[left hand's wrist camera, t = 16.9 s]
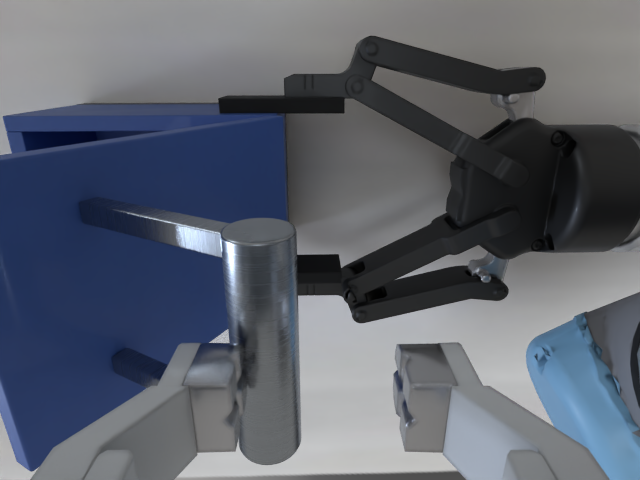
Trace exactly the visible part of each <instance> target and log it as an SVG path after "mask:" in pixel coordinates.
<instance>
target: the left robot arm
mask: <svg viewBox="0 0 640 480" xmlns="http://www.w3.org/2000/svg"><path fill="white" fill-rule="evenodd" d="M395 361H396V365H397V369H398V370H397V371H396V372H395V373H394V378H393V397H394V405H395V410H396V414H397V415H398V416H399V417H400V432H401V437H402V441H403V445H404V450H405V451H406V452H441V453H443V455H444V456H445V457H446V458H447V459H448V460H449V461H450V463H451V464H452V465H453V466H454V467H455V468H456V469H457V470H458V471H459V472H460V473H461V474H462V475H463V476H464V477H465V478H466V480H610V479H609V478H608V476H607V475H606V473H605V472H604V470H603V469H602V468H601V466H600V465H599V463H598V462H597V461H596V459H595V458H594V456H593V455H592V454H591V452H590V451H589V449H588V448H586V447H585V446H583V445H582V444H580V443H579V442H577V441H575V440H574V439H572V438H571V437H569V436H568V435H566V434H564V433H563V432H561V431H560V430H558V429H556V428H555V427H553V426H552V425H550V424H549V423H547V422H545V421H544V420H542V419H541V418H539V417H538V416H536V415H534V414H533V413H531V412H530V411H528V410H526V409H525V408H523V407H522V406H520V405H519V404H517V403H515V402H514V401H512V400H511V399H509V398H508V397H506V396H504V395H503V394H501V393H500V392H498V391H496V390H495V389H493V388H492V387H490V386H483V385H482V383H481V381H480V379H479V377H478V375H477V373H476V371H475V370H474V368H473V366H472V364H471V362H470V360H469V358H468V356H467V354H466V353H465V351H464V349H463V347H462V345H461V344H460V343H438V344H397V346H396V351H395ZM244 362H245V350H244V346H243V344H232V343H181V344H179V345H178V347H177V349H176V351H175V353H174V354H173V356H172V358H171V360H170V362H169V364H168V366H167V368H166V370H165V372H164V374H163V376H162V377H161V379H160V381H159V383H158V385H157V386H150V387H148V388H147V389H145V390H144V391H142V392H141V393H139V394H137V395H136V396H134V397H133V398H131V399H129V400H128V401H126V402H125V403H123V404H122V405H120V406H118V407H117V408H115V409H114V410H112V411H111V412H109V413H107V414H106V415H104V416H103V417H101V418H99V419H98V420H96V421H95V422H93V423H92V424H90V425H88V426H87V427H85V428H84V429H82V430H80V431H79V432H77V433H76V434H74V435H73V436H71V437H69V438H68V439H66V440H65V441H63V442H61V443H60V444H58V445H57V446H55V447H54V448H53V449H52V450H51V451H50V453H49V454H48V456H47V457H46V458H45V460H44V461H43V463H42V464H41V465H40V467H39V468H38V470H37V471H36V472H35V474H34V475H33V477H32V478H31V479H30V480H174V479H175V478H176V477H177V476H178V475H179V474H180V473H181V472H182V471H183V469H184V468H185V467H186V466H187V465H188V464H189V463H190V462H191V461H192V460H193V459H194V458H195V457H196V456H197V453H199V452H233V451H236V446H237V442H238V438H239V433H240V429H241V427H240V417H241V416H242V415H243V414H244V411H245V406H246V397H247V375H246V373H245V372H244V371H243V366H244Z"/></svg>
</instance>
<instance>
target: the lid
mask: <svg viewBox="0 0 640 480" xmlns="http://www.w3.org/2000/svg"><path fill="white" fill-rule="evenodd" d="M227 329H228V330H229V341H230V343H232V344H243V346H244V350H245V362H244V366H243V371H244V372H245V373H246V375H247V397H246V406H245V411H244V414H243V415H242V416H241V417H240V427H241V429H240V433H239V438H238V439H239V447H240V450H241V452H242V453H243V455H244V456H245V457H246V458H247V459H249V460H250V461H252V462H254V463H257V464H261V465H273V464H277V463H281V462H283V461H285V460H287V459H288V458H290V457H291V456H292V455H293V454H294V453H295V452H296V450H297V449H298V447H299V445H300V442H301V407H300V365H299V323H298V281H297V238H296V229H295V227H294V225H293V224H291V223H289V222H287V221H286V192H285V160H284V129H283V117H282V116H272V115H269V116H263V117H256V118H249V119H242V120H236V121H229V122H222V123H215V124H208V125H202V126H195V127H188V128H181V129H175V130H168V131H161V132H154V133H147V134H141V135H134V136H127V137H120V138H114V139H107V140H100V141H93V142H86V143H80V144H73V145H66V146H59V147H53V148H46V149H39V150H32V151H25V152H19V153H12V154H5V155H0V413H1V416H2V419H3V422H4V425H5V428H6V431H7V434H8V436H9V439H10V442H11V445H12V448H13V451H14V454H15V457H16V460H17V462H18V463H20V464H21V465H22V466H24V467H25V468H27V469H28V470H29V471H34V470H35V469H37V468H38V467H40V465H41V464H42V463H43V461H44V460H45V458H46V457H47V456H48V454H49V453H50V451H51V450H52V449H53V448H54V447H55V446H57V445H58V444H60V443H61V442H63V441H65V440H66V439H68V438H69V437H71V436H73V435H74V434H76V433H77V432H79V431H80V430H82V429H84V428H85V427H87V426H88V425H90V424H92V423H93V422H95V421H96V420H98V419H99V418H101V417H103V416H104V415H106V414H107V413H109V412H111V411H112V410H114V409H115V408H117V407H118V406H120V405H122V404H123V403H125V402H126V401H128V400H129V399H131V398H133V397H134V396H136V395H137V394H139V393H141V392H142V391H143V390H145V389H146V388H148V387H150V386H157V385H158V383H159V381H160V379H161V377H162V376H163V374H164V372H165V370H166V368H167V366H168V364H169V362H170V360H171V358H172V356H173V354H174V353H175V351H176V349H177V347H178V345H179V344H181V343H209V342H210V341H212V340H213V339H215V338H216V337H217V336H219V335H220V334H221V333H223V332H224V331H225V330H227Z"/></svg>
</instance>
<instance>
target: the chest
mask: <svg viewBox="0 0 640 480" xmlns="http://www.w3.org/2000/svg"><path fill="white" fill-rule="evenodd" d="M269 115H272V116H282V117H283V129H284V160H285V192H286V221H287V222H289V207H288V174H287V141H286V113H219V103H84V104H78V105H73V106H66V107H60V108H53V109H47V110H40V111H33V112H27V113H20V114H14V115H7V116H3V120H4V124H5V128H6V131H7V136H8V140H9V144H10V148H11V151H12V153H19V152H25V151H32V150H39V149H46V148H53V147H59V146H66V145H73V144H80V143H86V142H93V141H100V140H107V139H114V138H120V137H127V136H134V135H141V134H147V133H154V132H161V131H168V130H175V129H181V128H188V127H195V126H202V125H208V124H215V123H222V122H229V121H236V120H242V119H249V118H256V117H263V116H269Z"/></svg>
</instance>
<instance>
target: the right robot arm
mask: <svg viewBox="0 0 640 480" xmlns="http://www.w3.org/2000/svg"><path fill="white" fill-rule="evenodd" d="M376 66H379V67H382V68H386V69H390V70H394V71H397V72H401V73H405V74H409V75H412V76H416V77H420V78H424V79H427V80H431V81H435V82H439V83H442V84H446V85H450V86H454V87H457V88H461V89H465V90H469V91H474V92H480V93H487V94H491V102H492V104H493V105H494V106H496V107H500V108H504V109H505V110H506V111H507V113H508V116H509V118H508V119H506V120H505V121H503V122H502V123H500V124H499V125H498V126H496V127H495V128H493V129H492V130H490V131H489V132H487V133H486V134H484V135H483V136H482V137H480V138H479V139H475V138H473V137H471V136H469V135H468V134H466V133H464V132H462V131H460V130H458V129H456V128H455V127H453V126H451V125H449V124H447V123H446V122H444V121H442V120H440V119H439V118H437V117H435V116H433V115H432V114H430V113H428V112H426V111H424V110H423V109H421V108H419V107H417V106H416V105H414V104H412V103H410V102H409V101H407V100H405V99H403V98H401V97H400V96H398V95H396V94H394V93H393V92H391V91H389V90H387V89H386V88H384V87H382V86H380V85H378V84H377V83H375V82H373V81H371V79H372V76H373V74H374V71H375V68H376ZM545 80H546V75H545V72H544V71H543V70H542V69H541V68H537V67H518V68H506V69H498V70H497V69H493V68H489V67H486V66H482V65H479V64H475V63H471V62H468V61H464V60H460V59H457V58H453V57H449V56H446V55H442V54H438V53H435V52H431V51H427V50H424V49H420V48H417V47H413V46H409V45H406V44H402V43H398V42H395V41H391V40H387V39H384V38H380V37H376V36H369V37H366V38H364V39H362V40H361V41H360V42H359V43H357V45H356V47H355V52H354V55H353V58H352V60H351V63H350V65H349V67H348V69H347V70H346V71H344V72H343V73H340V74H293V75H291V76H289V77H286V78H284V92H285V96H225V97H222V98H219V99H218V100H219V113H344V101H345V98H353V99H355V100H357V101H359V102H361V103H362V104H364V105H366V106H368V107H370V108H371V109H373V110H375V111H377V112H379V113H381V114H382V115H384V116H386V117H388V118H390V119H391V120H393V121H395V122H397V123H399V124H401V125H402V126H404V127H406V128H408V129H410V130H411V131H413V132H415V133H417V134H419V135H420V136H422V137H424V138H426V139H428V140H430V141H431V142H433V143H435V144H437V145H439V146H440V147H442V148H444V149H446V150H448V151H449V152H451V153H453V154H455V155H457V157H456V159H455V161H454V162H451V166H450V179H451V185H452V187H451V190H450V192H449V195H448V198H447V204H446V211H447V212H448V213H445V214H443V215H441V216H439V217H437V218H435V219H434V220H433V221H432V222H431V224H430V225H428V226H426V227H424V228H422V229H420V230H418V231H416V232H414V233H411V234H409V235H407V236H405V237H403V238H401V239H399V240H397V241H395V242H393V243H391V244H389V245H387V246H385V247H383V248H381V249H379V250H376V251H374V252H372V253H370V254H368V255H366V256H364V257H362V258H360V259H358V260H356V261H354V262H352V263H350V264H348V265H346V266H344V267H343V268H341V265H340V259H339V254H329V255H297V281H298V295H340V296H342V297H343V298H344V300H345V301H346V303H348V305H349V308H350V310H351V313H352V317H353V319H354V321H356V322H358V323H366V322H370V321H375V320H379V319H383V318H388V317H392V316H397V315H401V314H405V313H410V312H414V311H419V310H423V309H427V308H432V307H436V306H441V305H445V304H449V303H454V302H458V301H463V300H467V299H481V300H493V301H499V300H502V299H504V298H505V297H506V296H507V295H508V287H507V286H506V285H505V284H504V283H503V279H504V275H505V272H506V268H507V265H508V261H509V259H512V258H515V257H517V256H519V255H521V254H523V253H526V252H532V251H535V252H549V253H560V252H604V251H608V250H611V251H615V252H640V125H622V126H619V127H617V126H614V125H544V124H542V123H541V122H539V121H538V120H536V119H534V118H533V115H534V100H535V91H537V90H539V89H540V88H542V86H543V85H544V83H545ZM477 245H480V246H481V247H483V248H484V249H485V250H487V251H488V254H487V255H486V256H485V257H484V258H482V259H479V260H471V261H470V262H469V266H454V267H448V268H444V269H440V270H436V271H431V272H427V273H423V274H418V275H414V276H410V277H405V278H401V279H397V278H399V277H401V276H403V275H405V274H408V273H410V272H412V271H414V270H416V269H418V268H420V267H422V266H425V265H427V264H429V263H431V262H433V261H435V260H437V259H439V258H442V257H444V256H446V255H449V254H451V255H456V254H459V253H462V252H464V251H466V250H468V249H470V248H472V247H475V246H477ZM395 279H397V280H395ZM526 362H527V368H528V371H529V374H530V377H531V380H532V382H533V384H534V387H535V389H536V391H537V394H538V396H539V398H540V400H541V402H542V404H543V406H544V408H545V410H546V412H547V414H548V416H549V418H550V419H551V421H552V423H553V425H554V427H555V428H556V429H558V430H560V431H561V432H563V433H564V434H566V435H568V436H569V437H571V438H572V439H574V440H575V441H577V442H579V443H580V444H582V445H583V446H585V447H586V448H588V449H589V451H590V452H591V454H592V455H593V456H594V458H595V459H596V461H597V462H598V463H599V465H600V466H601V468H602V469H603V470H604V472H605V473H606V475H607V476H608V478H609V479H610V480H640V292H639V293H636V294H634V295H631V296H629V297H626V298H623V299H621V300H618V301H616V302H613V303H611V304H608V305H606V306H603V307H600V308H598V309H595V310H593V311H590V312H584V313H581V314H579V315H577V316H575V317H574V319H573V320H571V321H569V322H567V323H565V324H563V325H561V326H558V327H556V328H554V329H552V330H550V331H548V332H545V333H543V334H541V335H539V336H537V337H536V338H534V339H533V340H532V341H531V342H530V344H529V346H528V348H527V351H526Z"/></svg>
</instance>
